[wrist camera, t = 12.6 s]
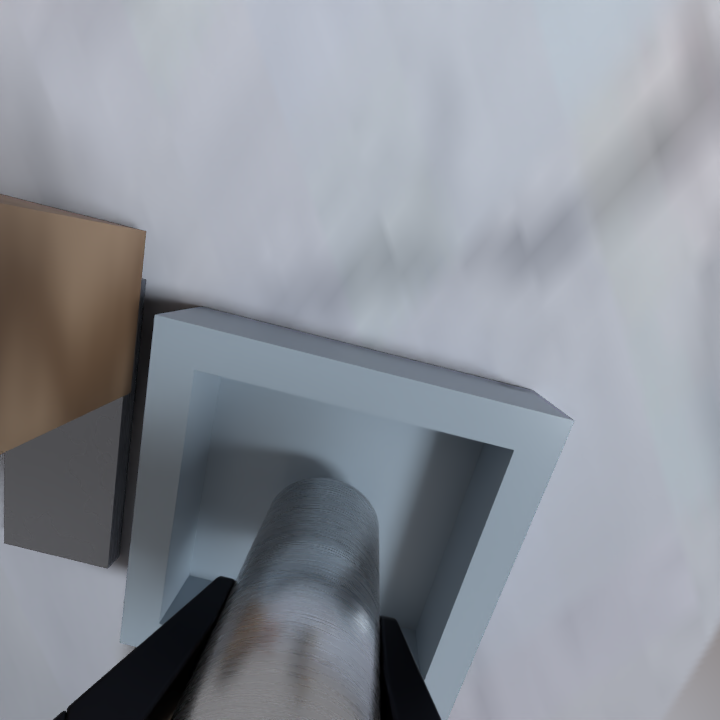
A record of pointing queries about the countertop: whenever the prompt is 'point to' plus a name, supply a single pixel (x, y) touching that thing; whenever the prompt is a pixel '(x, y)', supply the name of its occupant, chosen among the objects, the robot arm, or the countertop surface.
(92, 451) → the rail
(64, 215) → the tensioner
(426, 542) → the tray
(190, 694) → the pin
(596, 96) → the countertop surface
